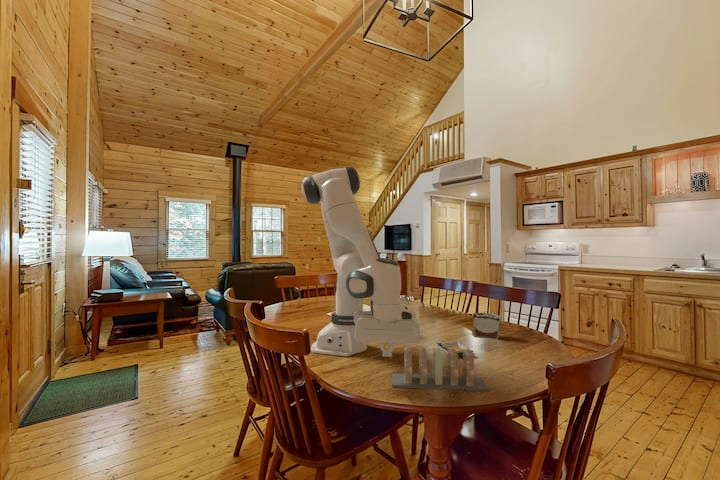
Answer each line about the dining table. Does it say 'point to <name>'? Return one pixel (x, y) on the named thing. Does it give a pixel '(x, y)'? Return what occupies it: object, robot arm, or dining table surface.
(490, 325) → the food container
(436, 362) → the sage domino
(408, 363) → the domino
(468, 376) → the domino
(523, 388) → the dining table surface
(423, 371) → the domino
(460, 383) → the domino mat
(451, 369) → the domino
